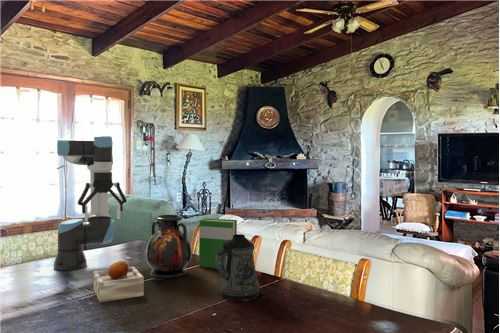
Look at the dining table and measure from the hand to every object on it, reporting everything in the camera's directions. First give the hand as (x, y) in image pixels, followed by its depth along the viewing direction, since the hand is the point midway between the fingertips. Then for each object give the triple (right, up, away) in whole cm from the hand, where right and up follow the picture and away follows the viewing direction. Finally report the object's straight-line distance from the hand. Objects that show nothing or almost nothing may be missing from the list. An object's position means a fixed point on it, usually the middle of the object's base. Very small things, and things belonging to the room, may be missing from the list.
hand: (102, 219), depth 178 cm
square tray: (+10, -29, -9) cm, 32 cm away
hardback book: (+48, -28, +32) cm, 64 cm away
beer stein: (+60, -30, -11) cm, 68 cm away
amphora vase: (+26, -29, +16) cm, 42 cm away
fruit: (+10, -23, -9) cm, 27 cm away
